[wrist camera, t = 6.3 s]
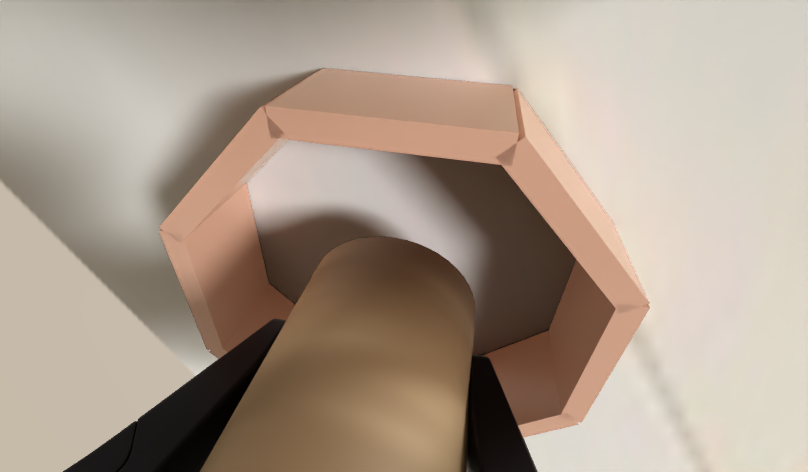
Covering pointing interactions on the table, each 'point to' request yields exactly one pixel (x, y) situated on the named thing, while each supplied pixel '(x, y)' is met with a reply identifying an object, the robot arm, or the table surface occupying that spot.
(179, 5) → the table surface
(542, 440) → the table surface
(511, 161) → the pink octagonal ring
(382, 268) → the oak tube
